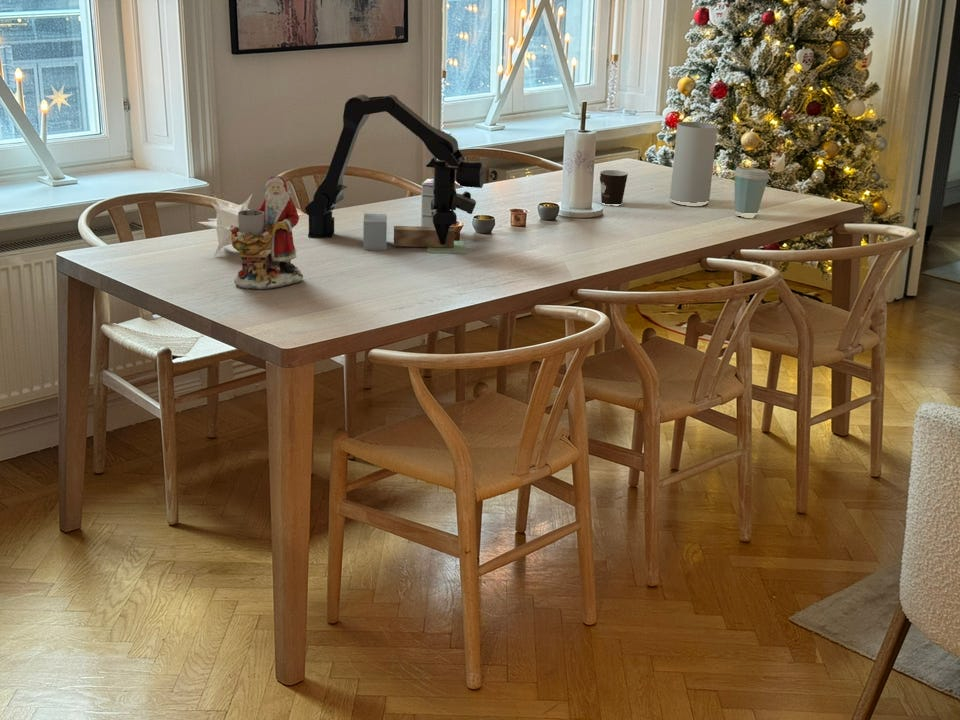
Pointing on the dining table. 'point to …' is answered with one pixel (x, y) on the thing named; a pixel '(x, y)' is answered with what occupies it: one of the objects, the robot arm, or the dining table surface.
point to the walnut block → (421, 236)
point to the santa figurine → (267, 240)
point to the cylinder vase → (693, 162)
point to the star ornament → (225, 221)
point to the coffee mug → (612, 186)
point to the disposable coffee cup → (749, 189)
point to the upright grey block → (375, 231)
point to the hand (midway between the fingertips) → (442, 242)
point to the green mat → (449, 248)
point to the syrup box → (427, 203)
